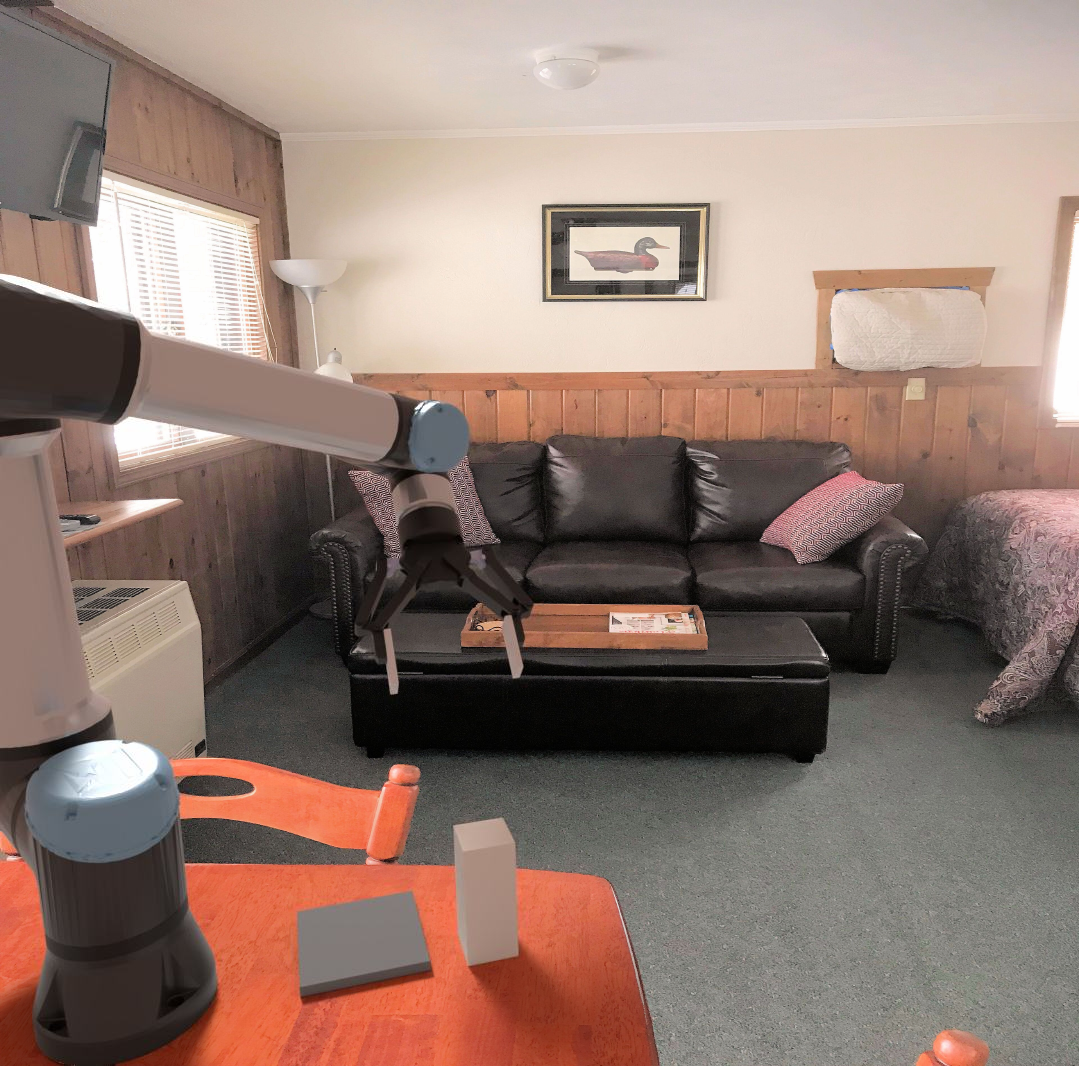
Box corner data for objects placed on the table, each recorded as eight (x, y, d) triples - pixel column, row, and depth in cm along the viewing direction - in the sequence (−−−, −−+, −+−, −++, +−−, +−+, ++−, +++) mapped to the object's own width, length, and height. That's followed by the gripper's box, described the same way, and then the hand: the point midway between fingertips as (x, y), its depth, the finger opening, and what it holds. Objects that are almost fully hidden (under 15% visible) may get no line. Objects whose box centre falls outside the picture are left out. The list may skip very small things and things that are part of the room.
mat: (300, 997, 82) (299, 987, 81) (297, 920, 93) (296, 911, 93) (430, 970, 85) (430, 960, 85) (412, 899, 96) (412, 890, 96)
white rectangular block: (468, 966, 85) (463, 851, 83) (458, 935, 90) (453, 825, 88) (518, 956, 87) (515, 842, 84) (506, 925, 91) (502, 817, 89)
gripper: (522, 530, 114) (560, 680, 103) (322, 547, 108) (340, 710, 96) (532, 495, 108) (573, 651, 97) (321, 510, 102) (340, 680, 90)
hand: (457, 681), depth 97 cm, fingers open, 13 cm apart
